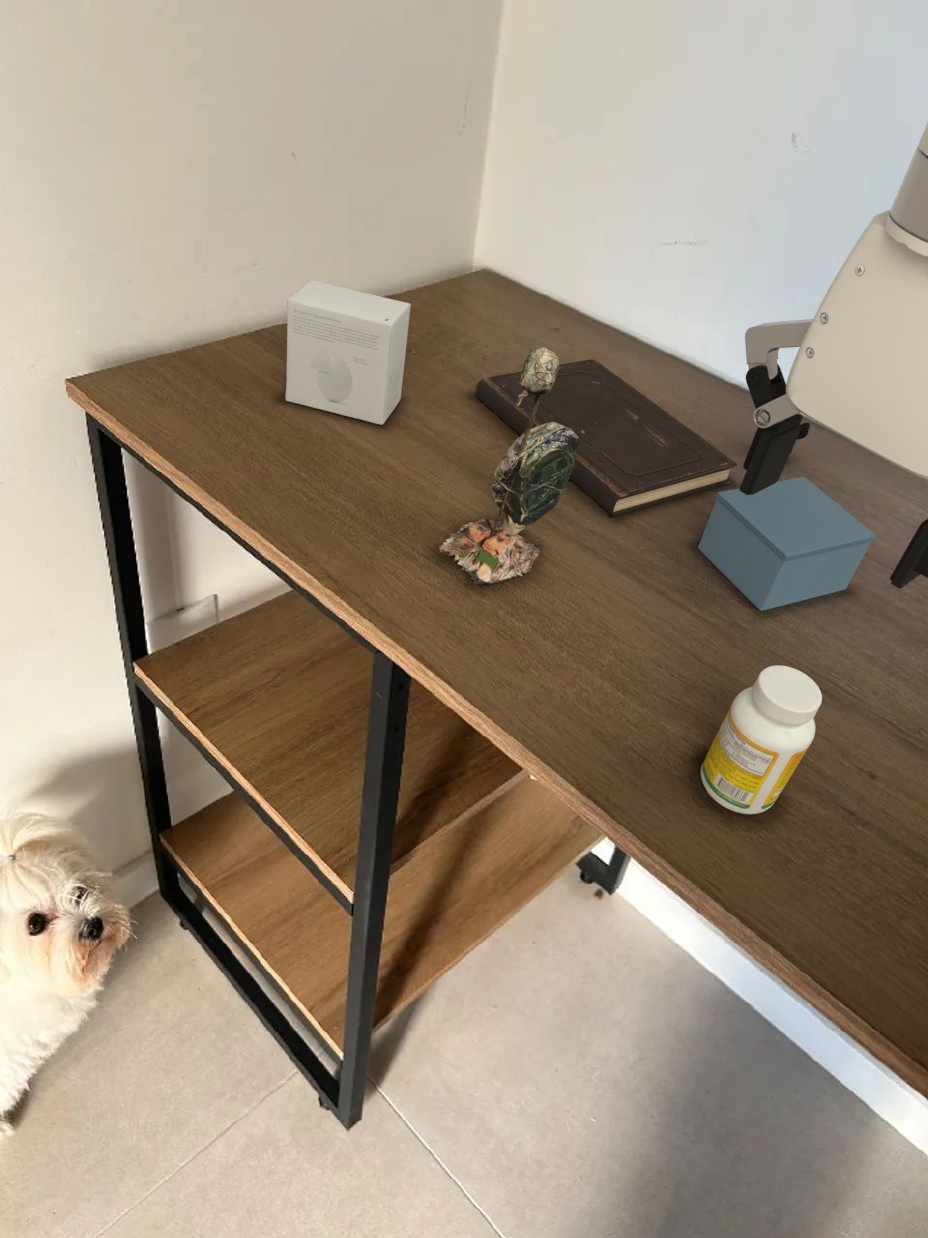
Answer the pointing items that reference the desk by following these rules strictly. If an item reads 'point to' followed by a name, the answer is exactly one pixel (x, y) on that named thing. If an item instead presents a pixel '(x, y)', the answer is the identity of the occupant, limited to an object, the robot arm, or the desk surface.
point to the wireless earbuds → (802, 428)
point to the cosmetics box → (346, 351)
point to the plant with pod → (520, 487)
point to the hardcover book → (614, 437)
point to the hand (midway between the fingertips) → (828, 530)
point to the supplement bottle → (762, 740)
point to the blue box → (784, 542)
